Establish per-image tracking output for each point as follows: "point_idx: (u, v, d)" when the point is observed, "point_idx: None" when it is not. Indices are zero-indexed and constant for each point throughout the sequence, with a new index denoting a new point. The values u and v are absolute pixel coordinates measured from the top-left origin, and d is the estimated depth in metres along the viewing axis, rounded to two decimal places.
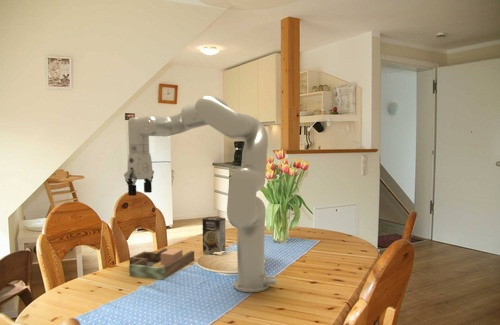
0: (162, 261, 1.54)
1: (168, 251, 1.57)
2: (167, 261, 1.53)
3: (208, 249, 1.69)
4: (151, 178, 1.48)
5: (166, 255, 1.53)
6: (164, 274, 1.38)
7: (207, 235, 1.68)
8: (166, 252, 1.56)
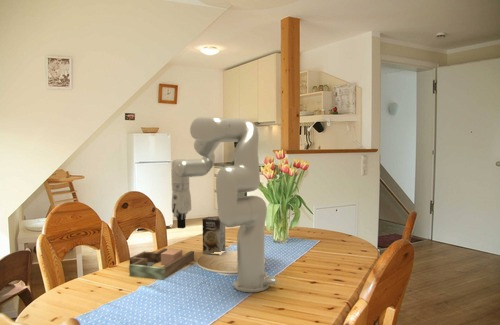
0: (162, 261, 1.54)
1: (168, 251, 1.57)
2: (167, 261, 1.53)
3: (208, 249, 1.69)
4: None
5: (166, 255, 1.53)
6: (164, 274, 1.38)
7: (207, 235, 1.68)
8: (166, 252, 1.56)
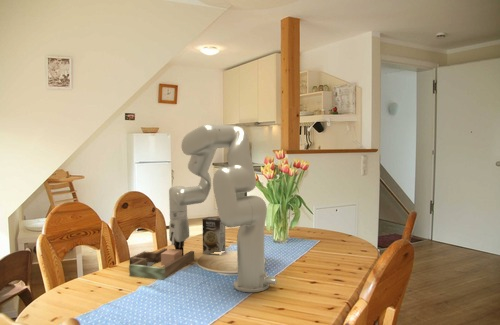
0: (162, 261, 1.54)
1: (168, 251, 1.57)
2: (167, 261, 1.53)
3: (208, 249, 1.69)
4: None
5: (166, 255, 1.53)
6: (164, 274, 1.38)
7: (207, 235, 1.68)
8: (166, 252, 1.56)
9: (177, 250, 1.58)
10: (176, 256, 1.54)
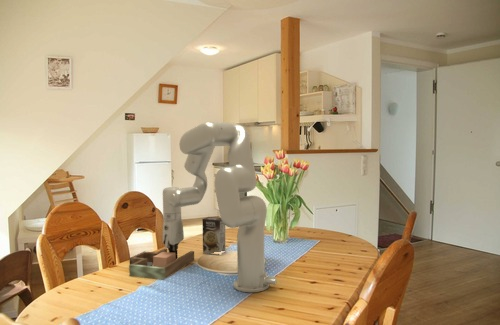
0: (154, 264, 1.49)
1: (161, 254, 1.52)
2: (159, 265, 1.49)
3: (208, 249, 1.69)
4: None
5: (159, 258, 1.49)
6: (164, 274, 1.38)
7: (207, 235, 1.68)
8: (159, 255, 1.51)
9: (170, 253, 1.54)
10: (169, 259, 1.50)
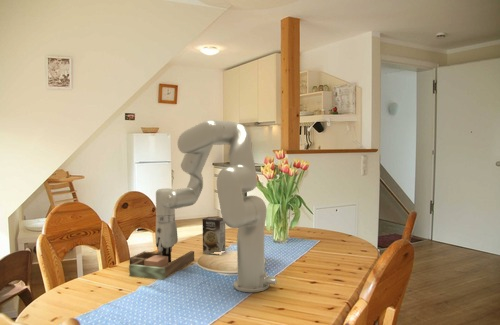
0: None
1: (153, 258, 1.48)
2: None
3: (208, 249, 1.69)
4: None
5: (150, 262, 1.44)
6: (164, 274, 1.38)
7: (207, 235, 1.68)
8: (150, 259, 1.47)
9: (163, 257, 1.49)
10: (160, 263, 1.45)
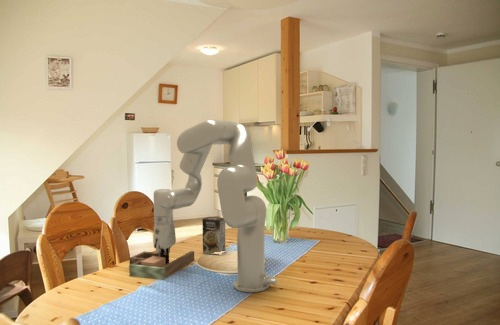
0: None
1: (150, 259, 1.47)
2: None
3: (208, 249, 1.69)
4: None
5: (147, 263, 1.43)
6: (164, 274, 1.38)
7: (207, 235, 1.68)
8: (147, 260, 1.45)
9: (160, 258, 1.48)
10: (157, 265, 1.44)
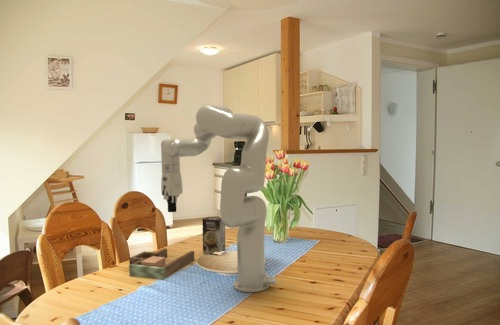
0: None
1: (150, 259, 1.47)
2: None
3: (208, 249, 1.69)
4: None
5: (147, 263, 1.43)
6: (164, 274, 1.38)
7: (207, 235, 1.68)
8: (147, 260, 1.45)
9: (160, 258, 1.48)
10: (157, 264, 1.44)
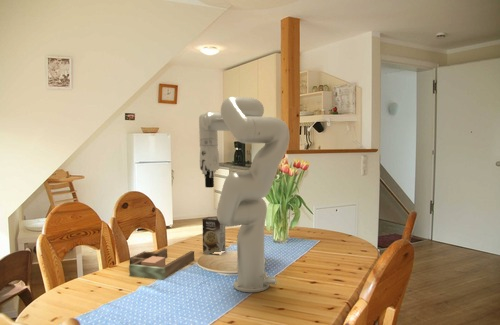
0: None
1: (150, 259, 1.46)
2: None
3: (208, 249, 1.69)
4: None
5: (147, 263, 1.43)
6: (164, 274, 1.38)
7: (207, 235, 1.68)
8: (147, 260, 1.45)
9: (160, 258, 1.48)
10: (157, 264, 1.44)
